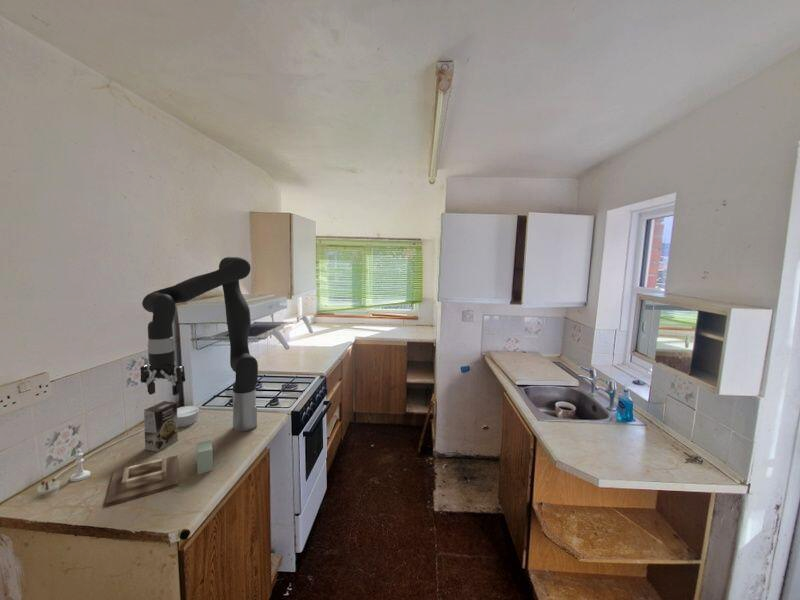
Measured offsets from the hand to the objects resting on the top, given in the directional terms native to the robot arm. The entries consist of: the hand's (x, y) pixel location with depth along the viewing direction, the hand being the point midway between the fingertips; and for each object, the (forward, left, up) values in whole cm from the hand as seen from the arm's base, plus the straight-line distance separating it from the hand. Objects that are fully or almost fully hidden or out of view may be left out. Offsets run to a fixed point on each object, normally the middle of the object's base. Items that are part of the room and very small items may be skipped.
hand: (164, 394), depth 118 cm
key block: (-11, +10, -26) cm, 30 cm away
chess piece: (+24, -4, -26) cm, 35 cm away
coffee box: (+2, -14, -26) cm, 30 cm away
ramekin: (-6, -31, -26) cm, 41 cm away
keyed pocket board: (+6, +8, -26) cm, 28 cm away
